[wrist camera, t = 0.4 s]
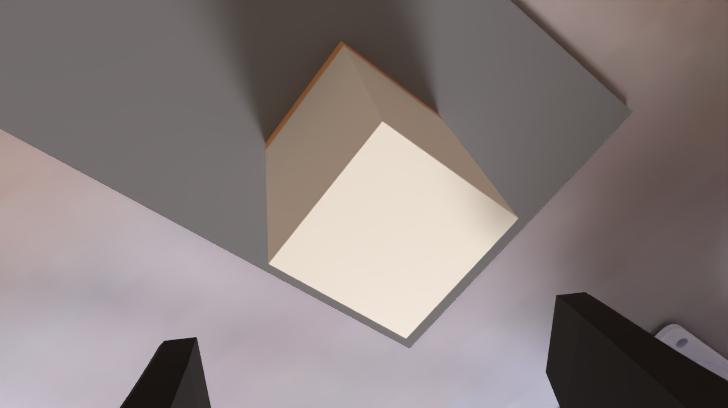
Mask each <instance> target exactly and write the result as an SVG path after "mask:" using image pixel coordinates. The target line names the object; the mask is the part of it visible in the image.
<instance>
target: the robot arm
mask: <svg viewBox="0 0 728 408" xmlns="http://www.w3.org/2000/svg"><path fill="white" fill-rule="evenodd" d="M546 374H547V376H548V379H549V381H550V384H551V386H552V389H553V391H554V394H555V396H556V399H557V401H558V403H559V405H560V408H728V360H727V359H726V358H724V357H723V356H721V355H720V354H719V353H717V352H716V351H714V350H713V349H712V348H710V347H709V346H708V345H706V344H705V343H703V342H702V341H701V340H699V339H698V338H696V337H695V336H694V335H692V334H691V333H690V332H688V331H687V330H685V329H684V328H683V327H681V326H680V325H678V324H670V325H668V326H666V327H665V328H663V329H662V330H661V331H660V332H659V333H658V334H657V335H656V336H653V335H651V334H650V333H648V332H646V331H645V330H643V329H642V328H640V327H639V326H637V325H636V324H634V323H633V322H631V321H630V320H628V319H627V318H625V317H624V316H622V315H620V314H619V313H617V312H616V311H614V310H613V309H611V308H610V307H608V306H607V305H605V304H604V303H602V302H600V301H599V300H597V299H596V298H594V297H592V296H591V295H589V294H587V293H585V292H582V293H574V294H565V295H556V302H555V309H554V317H553V324H552V331H551V338H550V346H549V353H548V360H547V367H546ZM120 408H211V406H210V401H209V396H208V391H207V386H206V381H205V376H204V371H203V366H202V361H201V356H200V351H199V346H198V341H197V337H194V338H185V339H176V340H168V341H164V342H163V343H162V344H161V345H160V346H159V348H158V349H157V351H156V352H155V354H154V356H153V357H152V359H151V361H150V362H149V364H148V366H147V367H146V369H145V370H144V372H143V374H142V375H141V377H140V378H139V380H138V381H137V383H136V384H135V386H134V387H133V389H132V390H131V392H130V394H129V395H128V397H127V398H126V399H125V401H124V402H123V404H122V405H121V407H120Z"/></svg>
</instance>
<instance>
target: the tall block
mask: <svg viewBox="0 0 728 408" xmlns="http://www.w3.org/2000/svg"><path fill="white" fill-rule="evenodd" d="M265 152H266V190H267V227H268V264H270V265H271V266H273V267H275V268H277V269H279V270H281V271H283V272H284V273H286V274H288V275H290V276H292V277H294V278H295V279H297V280H299V281H301V282H303V283H305V284H306V285H308V286H310V287H312V288H314V289H316V290H317V291H319V292H321V293H323V294H325V295H327V296H329V297H330V298H332V299H334V300H336V301H338V302H340V303H341V304H343V305H345V306H347V307H349V308H351V309H352V310H354V311H356V312H358V313H360V314H362V315H363V316H365V317H367V318H369V319H371V320H373V321H374V322H376V323H378V324H380V325H382V326H384V327H386V328H387V329H389V330H391V331H393V332H395V333H397V334H398V335H400V336H402V337H404V338H407V337H408V336H409V335H410V334H411V333H412V332H413V331H414V330H415V329H416V328H417V327H418V325H419V324H420V323H421V322H422V321H423V320H424V319H425V318H426V317H427V316H428V315H429V314H430V313H431V312H432V311H433V309H434V308H435V307H436V306H437V305H438V304H439V303H440V302H441V301H442V300H443V299H444V298H445V297H446V296H447V294H448V293H449V292H450V291H451V290H452V289H453V288H454V287H455V286H456V285H457V284H458V283H459V282H460V281H461V279H462V278H463V277H464V276H465V275H466V274H467V273H468V272H469V271H470V270H471V269H472V268H473V267H474V266H475V265H476V263H477V262H478V261H479V260H480V259H481V258H482V257H483V256H484V255H485V254H486V253H487V252H488V251H489V250H490V248H491V247H492V246H493V245H494V244H495V243H496V242H497V241H498V240H499V239H500V238H501V237H502V236H503V235H504V233H505V232H506V231H507V230H508V229H509V228H510V227H511V226H512V225H513V224H514V223H515V222H516V221H517V220H518V219H519V218H518V217H517V216H516V214H515V213H514V212H513V211H512V209H511V208H510V207H509V205H508V204H507V203H506V201H505V200H504V199H503V197H502V196H501V195H500V194H499V192H498V191H497V190H496V188H495V187H494V186H493V184H492V183H491V182H490V180H489V179H488V178H487V177H486V175H485V174H484V173H483V171H482V170H481V169H480V167H479V166H478V165H477V163H476V162H475V161H474V160H473V158H472V157H471V156H470V154H469V153H468V152H467V150H466V149H465V148H464V146H463V145H462V144H461V143H460V141H459V140H458V139H457V137H456V136H455V135H454V133H453V132H452V131H451V129H450V128H449V127H448V126H447V124H446V123H445V122H444V120H443V119H442V118H441V116H440V115H439V114H438V113H436V112H435V111H434V110H432V109H431V108H430V107H429V106H427V105H426V104H425V103H423V102H422V101H421V100H419V99H418V98H417V97H415V96H414V95H413V94H411V93H410V92H409V91H407V90H406V89H405V88H403V87H402V86H401V85H399V84H398V83H397V82H395V81H394V80H393V79H391V78H390V77H389V76H387V75H386V74H385V73H383V72H382V71H381V70H380V69H378V68H377V67H376V66H374V65H373V64H372V63H370V62H369V61H368V60H366V59H365V58H364V57H362V56H361V55H360V54H358V53H357V52H356V51H354V50H353V49H352V48H350V47H349V46H348V45H346V44H345V43H344V42H342V41H341V42H340V43H339V44H338V46H337V47H336V48H335V50H334V51H333V52H332V54H331V55H330V57H329V58H328V59H327V61H326V62H325V63H324V65H323V66H322V67H321V69H320V70H319V71H318V73H317V74H316V75H315V77H314V78H313V79H312V81H311V82H310V84H309V85H308V86H307V88H306V89H305V90H304V92H303V93H302V94H301V96H300V97H299V98H298V100H297V101H296V102H295V104H294V105H293V106H292V108H291V109H290V111H289V112H288V113H287V115H286V116H285V117H284V119H283V120H282V121H281V123H280V124H279V125H278V127H277V128H276V129H275V131H274V132H273V133H272V135H271V136H270V138H269V139H268V140H267V142H266V143H265Z"/></svg>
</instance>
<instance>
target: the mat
mask: <svg viewBox="0 0 728 408" xmlns="http://www.w3.org/2000/svg"><path fill="white" fill-rule="evenodd" d="M341 41H342V42H344V43H345V44H346V45H348V46H349V47H350V48H352V49H353V50H354V51H356V52H357V53H358V54H360V55H361V56H362V57H364V58H365V59H366V60H368V61H369V62H370V63H372V64H373V65H374V66H376V67H377V68H378V69H380V70H381V71H382V72H383V73H385V74H386V75H387V76H389V77H390V78H391V79H393V80H394V81H395V82H397V83H398V84H399V85H401V86H402V87H403V88H405V89H406V90H407V91H409V92H410V93H411V94H413V95H414V96H415V97H417V98H418V99H419V100H421V101H422V102H423V103H425V104H426V105H427V106H429V107H430V108H431V109H432V110H434V111H435V112H436V113H438V114H439V115H440V116H441V118H442V119H443V120H444V122H445V123H446V124H447V126H448V127H449V128H450V129H451V131H452V132H453V133H454V135H455V136H456V137H457V139H458V140H459V141H460V143H461V144H462V145H463V146H464V148H465V149H466V150H467V152H468V153H469V154H470V156H471V157H472V158H473V160H474V161H475V162H476V163H477V165H478V166H479V167H480V169H481V170H482V171H483V173H484V174H485V175H486V177H487V178H488V179H489V180H490V182H491V183H492V184H493V186H494V187H495V188H496V190H497V191H498V192H499V194H500V195H501V196H502V197H503V199H504V200H505V201H506V203H507V204H508V205H509V207H510V208H511V209H512V211H513V212H514V213H515V214H516V216H517V217H518V218H519V219H518V220H517V221H516V222H515V223H514V224H513V225H512V226H511V227H510V228H509V229H508V230H507V231H506V232H505V233H504V235H503V236H502V237H501V238H500V239H499V240H498V241H497V242H496V243H495V244H494V245H493V246H492V247H491V248H490V250H489V251H488V252H487V253H486V254H485V255H484V256H483V257H482V258H481V259H480V260H479V261H478V262H477V263H476V265H475V266H474V267H473V268H472V269H471V270H470V271H469V272H468V273H467V274H466V275H465V276H464V277H463V278H462V279H461V281H460V282H459V283H458V284H457V285H456V286H455V287H454V288H453V289H452V290H451V291H450V292H449V293H448V294H447V296H446V297H445V298H444V299H443V300H442V301H441V302H440V303H439V304H438V305H437V306H436V307H435V308H434V309H433V311H432V312H431V313H430V314H429V315H428V316H427V317H426V318H425V319H424V320H423V321H422V322H421V323H420V324H419V325H418V327H417V328H416V329H415V330H414V331H413V332H412V333H411V334H410V335H409V336H408V337H407V338H404V337H402V336H400V335H398V334H397V333H395V332H393V331H391V330H389V329H387V328H386V327H384V326H382V325H380V324H378V323H376V322H374V321H373V320H371V319H369V318H367V317H365V316H363V315H362V314H360V313H358V312H356V311H354V310H352V309H351V308H349V307H347V306H345V305H343V304H341V303H340V302H338V301H336V300H334V299H332V298H330V297H329V296H327V295H325V294H323V293H321V292H319V291H317V290H316V289H314V288H312V287H310V286H308V285H306V284H305V283H303V282H301V281H299V280H297V279H295V278H294V277H292V276H290V275H288V274H286V273H284V272H283V271H281V270H279V269H277V268H275V267H273V266H271V265H270V264H268V227H267V190H266V152H265V143H266V142H267V140H268V139H269V138H270V136H271V135H272V133H273V132H274V131H275V129H276V128H277V127H278V125H279V124H280V123H281V121H282V120H283V119H284V117H285V116H286V115H287V113H288V112H289V111H290V109H291V108H292V106H293V105H294V104H295V102H296V101H297V100H298V98H299V97H300V96H301V94H302V93H303V92H304V90H305V89H306V88H307V86H308V85H309V84H310V82H311V81H312V79H313V78H314V77H315V75H316V74H317V73H318V71H319V70H320V69H321V67H322V66H323V65H324V63H325V62H326V61H327V59H328V58H329V57H330V55H331V54H332V52H333V51H334V50H335V48H336V47H337V46H338V44H339V43H340V42H341ZM631 113H632V111H631V110H630V109H629V108H628V107H627V106H626V105H625V104H624V103H623V102H621V101H620V100H619V99H618V98H617V97H616V96H615V95H614V94H613V93H612V92H610V91H609V90H608V89H607V88H606V87H605V86H604V85H603V84H602V83H601V82H599V81H598V80H597V79H596V78H595V77H594V76H593V75H592V74H591V73H590V72H589V71H587V70H586V69H585V68H584V67H583V66H582V65H581V64H580V63H579V62H578V61H576V60H575V59H574V58H573V57H572V56H571V55H570V54H569V53H568V52H567V51H565V50H564V49H563V48H562V47H561V46H560V45H559V44H558V43H557V42H556V41H555V40H553V39H552V38H551V37H550V36H549V35H548V34H547V33H546V32H545V31H544V30H542V29H541V28H540V27H539V26H538V25H537V24H536V23H535V22H534V21H533V20H531V19H530V18H529V17H528V16H527V15H526V14H525V13H524V12H523V11H522V10H520V9H519V8H518V7H517V6H516V5H515V4H514V3H513V2H512V1H511V0H0V129H2V130H4V131H6V132H7V133H9V134H11V135H13V136H15V137H17V138H19V139H20V140H22V141H24V142H26V143H28V144H30V145H32V146H34V147H35V148H37V149H39V150H41V151H43V152H45V153H47V154H48V155H50V156H52V157H54V158H56V159H58V160H60V161H61V162H63V163H65V164H67V165H69V166H71V167H73V168H74V169H76V170H78V171H80V172H82V173H84V174H86V175H88V176H89V177H91V178H93V179H95V180H97V181H99V182H101V183H102V184H104V185H106V186H108V187H110V188H112V189H114V190H115V191H117V192H119V193H121V194H123V195H125V196H127V197H129V198H130V199H132V200H134V201H136V202H138V203H140V204H142V205H143V206H145V207H147V208H149V209H151V210H153V211H155V212H156V213H158V214H160V215H162V216H164V217H166V218H168V219H169V220H171V221H173V222H175V223H177V224H179V225H181V226H183V227H184V228H186V229H188V230H190V231H192V232H194V233H196V234H197V235H199V236H201V237H203V238H205V239H207V240H209V241H210V242H212V243H214V244H216V245H218V246H220V247H222V248H223V249H225V250H227V251H229V252H231V253H233V254H235V255H237V256H238V257H240V258H242V259H244V260H246V261H248V262H250V263H251V264H253V265H255V266H257V267H259V268H261V269H263V270H264V271H266V272H268V273H270V274H272V275H274V276H276V277H277V278H279V279H281V280H283V281H285V282H287V283H289V284H291V285H292V286H294V287H296V288H298V289H300V290H302V291H304V292H305V293H307V294H309V295H311V296H313V297H315V298H317V299H318V300H320V301H322V302H324V303H326V304H328V305H330V306H331V307H333V308H335V309H337V310H339V311H341V312H343V313H345V314H346V315H348V316H350V317H352V318H354V319H356V320H358V321H359V322H361V323H363V324H365V325H367V326H369V327H371V328H372V329H374V330H376V331H378V332H380V333H382V334H384V335H385V336H387V337H389V338H391V339H393V340H395V341H397V342H399V343H400V344H402V345H404V346H406V347H408V348H410V347H411V346H412V345H413V344H414V343H415V342H416V341H417V340H418V339H419V338H420V337H421V336H422V334H423V333H424V332H425V331H426V330H427V329H428V328H429V327H430V326H431V325H432V324H433V323H434V322H435V321H436V320H437V319H438V318H439V316H440V315H441V314H442V313H443V312H444V311H445V310H446V309H447V308H448V307H449V306H450V305H451V304H452V303H453V302H454V301H455V299H456V298H457V297H458V296H459V295H460V294H461V293H462V292H463V291H464V290H465V289H466V288H467V287H468V286H469V285H470V284H471V283H472V281H473V280H474V279H475V278H476V277H477V276H478V275H479V274H480V273H481V272H482V271H483V270H484V269H485V268H486V267H487V266H488V265H489V263H490V262H491V261H492V260H493V259H494V258H495V257H496V256H497V255H498V254H499V253H500V252H501V251H502V250H503V249H504V248H505V246H506V245H507V244H508V243H509V242H510V241H511V240H512V239H513V238H514V237H515V236H516V235H517V234H518V233H519V232H520V231H521V230H522V228H523V227H524V226H525V225H526V224H527V223H528V222H529V221H530V220H531V219H532V218H533V217H534V216H535V215H536V214H537V213H538V212H539V210H540V209H541V208H542V207H543V206H544V205H545V204H546V203H547V202H548V201H549V200H550V199H551V198H552V197H553V196H554V195H555V193H556V192H557V191H558V190H559V189H560V188H561V187H562V186H563V185H564V184H565V183H566V182H567V181H568V180H569V179H570V178H571V177H572V175H573V174H574V173H575V172H576V171H577V170H578V169H579V168H580V167H581V166H582V165H583V164H584V163H585V162H586V161H587V160H588V159H589V157H590V156H591V155H592V154H593V153H594V152H595V151H596V150H597V149H598V148H599V147H600V146H601V145H602V144H603V143H604V142H605V140H606V139H607V138H608V137H609V136H610V135H611V134H612V133H613V132H614V131H615V130H616V129H617V128H618V127H619V126H620V125H621V124H622V122H623V121H624V120H625V119H626V118H627V117H628V116H629V115H630V114H631Z"/></svg>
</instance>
